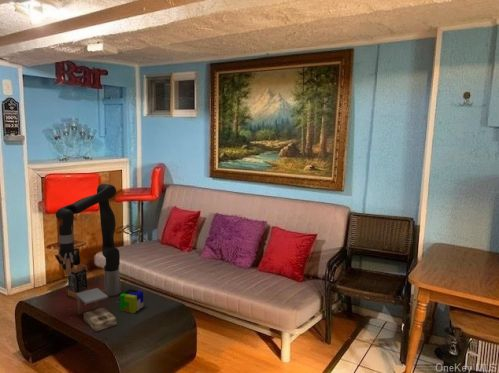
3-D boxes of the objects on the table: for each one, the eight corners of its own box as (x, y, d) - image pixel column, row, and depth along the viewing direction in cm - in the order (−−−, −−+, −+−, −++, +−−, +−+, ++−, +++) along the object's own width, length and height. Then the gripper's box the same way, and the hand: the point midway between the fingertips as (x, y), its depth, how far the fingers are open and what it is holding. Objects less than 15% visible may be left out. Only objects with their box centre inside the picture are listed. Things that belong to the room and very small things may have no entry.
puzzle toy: (143, 306, 248) (143, 291, 247) (134, 313, 239) (133, 297, 237) (130, 303, 252) (129, 289, 250) (120, 310, 242) (119, 295, 241)
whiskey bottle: (67, 295, 262) (64, 249, 257) (80, 290, 270) (77, 245, 265) (76, 299, 257) (74, 252, 252) (89, 293, 265) (87, 248, 260)
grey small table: (98, 307, 246) (97, 287, 244) (108, 316, 234) (107, 296, 232) (76, 313, 237) (75, 293, 235) (86, 323, 225) (85, 302, 223)
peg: (70, 272, 240) (69, 256, 238) (71, 273, 237) (71, 258, 236) (64, 273, 237) (63, 257, 236) (66, 275, 235) (65, 259, 234)
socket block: (103, 313, 238) (103, 307, 237) (116, 324, 225) (116, 318, 224) (83, 319, 230) (83, 313, 229) (95, 331, 217) (95, 325, 216)
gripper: (76, 237, 242) (77, 264, 244) (51, 242, 232) (53, 269, 235) (80, 240, 236) (82, 267, 239) (55, 245, 227) (57, 273, 229)
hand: (67, 268), depth 237 cm, fingers closed on peg, 3 cm apart
